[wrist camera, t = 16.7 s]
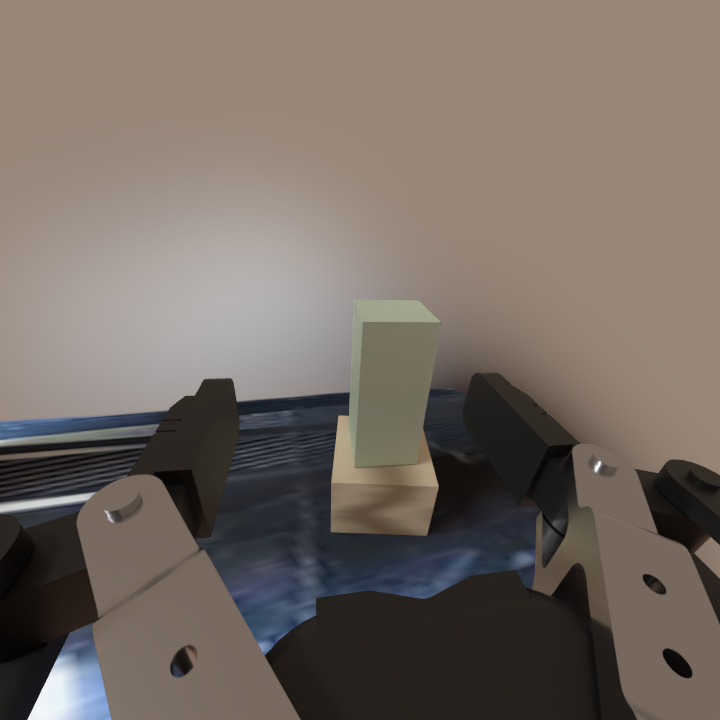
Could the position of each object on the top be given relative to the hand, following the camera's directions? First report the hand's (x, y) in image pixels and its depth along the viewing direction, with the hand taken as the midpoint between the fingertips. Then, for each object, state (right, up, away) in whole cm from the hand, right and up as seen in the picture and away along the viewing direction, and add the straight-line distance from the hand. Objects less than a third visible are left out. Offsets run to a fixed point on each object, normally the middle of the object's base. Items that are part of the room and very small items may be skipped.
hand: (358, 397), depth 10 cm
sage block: (+2, -6, +16) cm, 17 cm away
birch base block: (+2, -12, +19) cm, 22 cm away
